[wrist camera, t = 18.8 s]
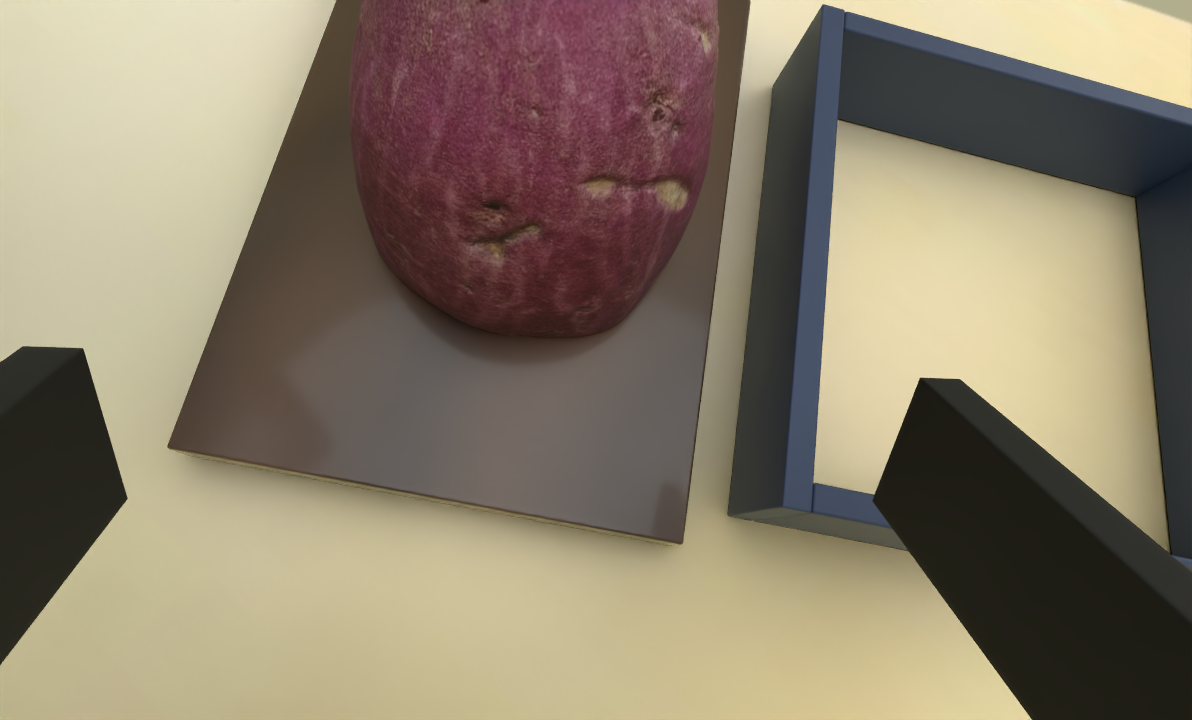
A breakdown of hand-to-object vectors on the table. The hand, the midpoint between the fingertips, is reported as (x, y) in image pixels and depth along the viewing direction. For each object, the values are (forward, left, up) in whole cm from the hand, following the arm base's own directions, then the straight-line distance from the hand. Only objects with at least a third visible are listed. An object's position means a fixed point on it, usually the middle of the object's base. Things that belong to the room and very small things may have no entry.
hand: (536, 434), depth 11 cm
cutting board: (-2, +9, -9) cm, 13 cm away
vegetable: (-1, +9, -8) cm, 12 cm away
